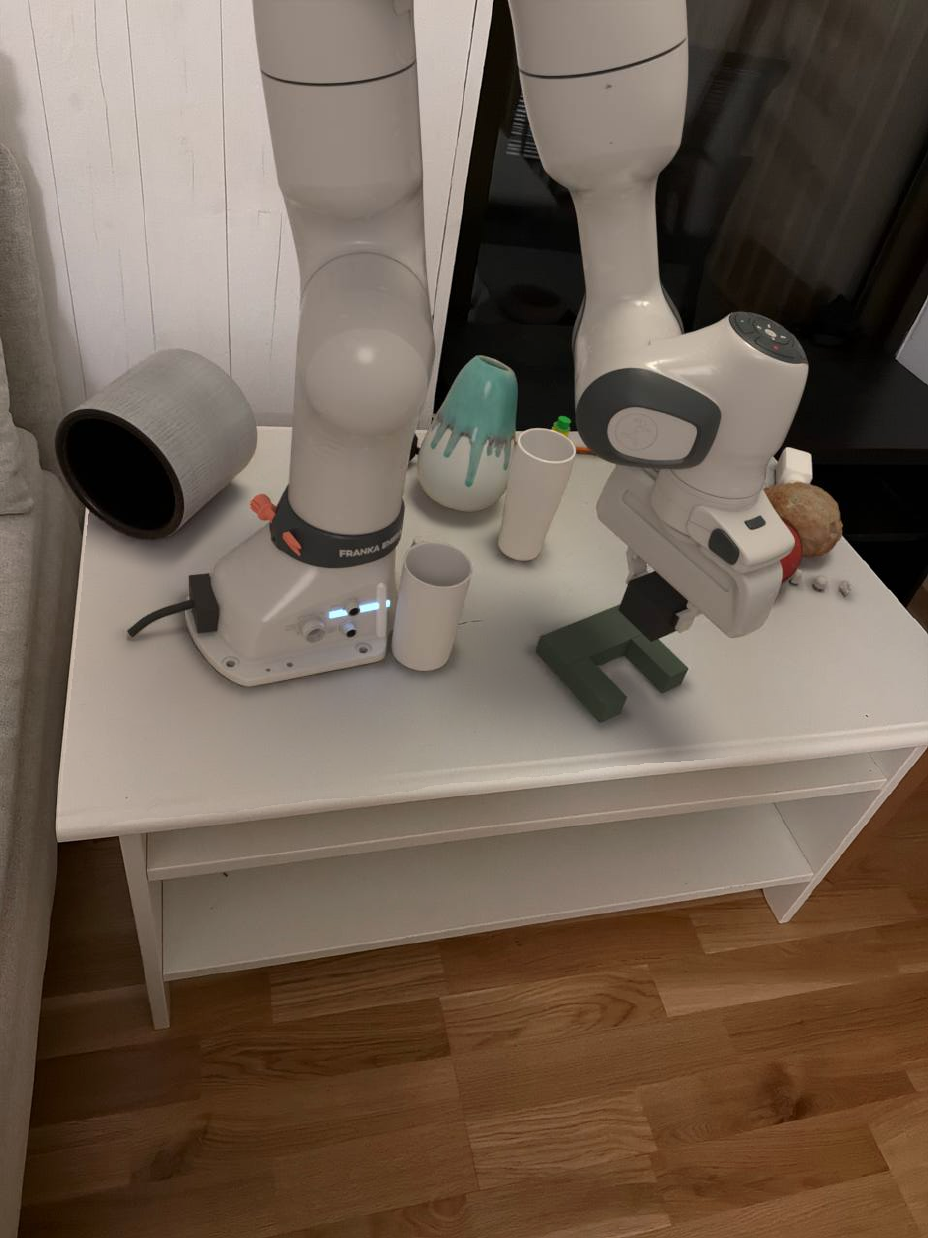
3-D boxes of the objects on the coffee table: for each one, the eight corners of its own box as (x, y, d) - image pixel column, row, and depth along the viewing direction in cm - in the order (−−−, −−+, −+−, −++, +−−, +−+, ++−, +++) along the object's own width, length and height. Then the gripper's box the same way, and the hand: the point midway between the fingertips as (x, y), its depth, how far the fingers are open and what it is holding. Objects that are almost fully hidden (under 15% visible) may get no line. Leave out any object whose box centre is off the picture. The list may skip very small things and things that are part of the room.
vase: (493, 488, 127) (533, 355, 119) (506, 529, 118) (551, 387, 109) (406, 471, 125) (440, 334, 116) (413, 511, 115) (450, 365, 106)
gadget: (793, 543, 127) (833, 549, 113) (744, 596, 128) (776, 609, 114) (741, 495, 127) (774, 495, 112) (691, 549, 128) (718, 556, 113)
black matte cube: (686, 626, 98) (699, 597, 95) (651, 642, 95) (663, 613, 92) (653, 595, 100) (665, 566, 98) (617, 610, 98) (628, 580, 95)
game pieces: (847, 586, 124) (854, 576, 122) (849, 599, 122) (857, 588, 121) (787, 572, 123) (794, 562, 121) (788, 584, 122) (796, 574, 120)
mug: (461, 668, 101) (482, 583, 93) (400, 678, 99) (416, 591, 91) (429, 602, 108) (447, 517, 100) (371, 610, 105) (384, 523, 97)
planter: (117, 359, 113) (24, 422, 102) (218, 329, 104) (130, 394, 93) (186, 479, 121) (107, 549, 110) (285, 460, 112) (211, 534, 101)
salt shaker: (774, 467, 141) (774, 504, 134) (785, 444, 139) (785, 480, 132) (801, 475, 141) (802, 512, 134) (812, 452, 138) (814, 488, 131)
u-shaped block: (600, 722, 99) (606, 706, 98) (534, 652, 105) (540, 635, 103) (681, 683, 106) (689, 668, 104) (615, 619, 111) (621, 603, 110)
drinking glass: (550, 540, 120) (582, 438, 109) (539, 573, 115) (571, 469, 105) (498, 524, 120) (524, 420, 110) (484, 556, 115) (510, 451, 105)
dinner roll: (734, 541, 123) (736, 546, 133) (838, 562, 120) (832, 565, 129) (752, 467, 123) (753, 477, 132) (857, 486, 119) (849, 495, 129)
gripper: (602, 439, 91) (567, 552, 100) (762, 573, 80) (706, 685, 90) (650, 425, 94) (612, 536, 104) (810, 552, 83) (751, 663, 93)
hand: (657, 606), depth 97 cm, fingers closed on black matte cube, 5 cm apart
